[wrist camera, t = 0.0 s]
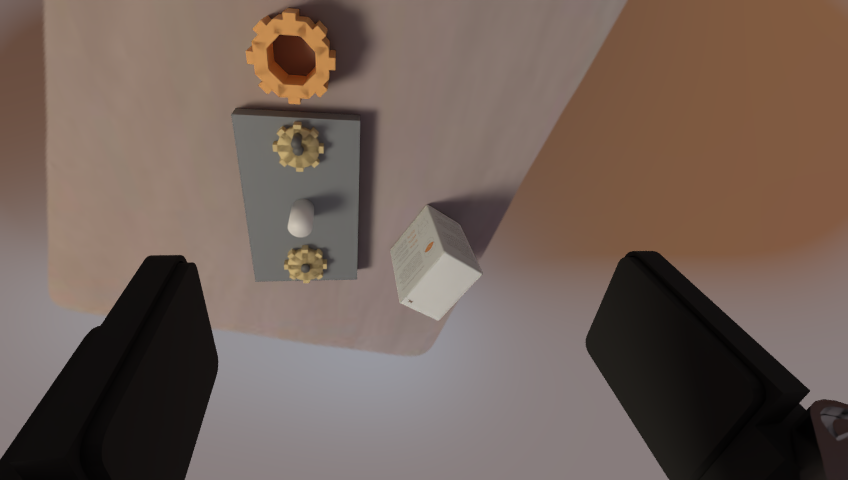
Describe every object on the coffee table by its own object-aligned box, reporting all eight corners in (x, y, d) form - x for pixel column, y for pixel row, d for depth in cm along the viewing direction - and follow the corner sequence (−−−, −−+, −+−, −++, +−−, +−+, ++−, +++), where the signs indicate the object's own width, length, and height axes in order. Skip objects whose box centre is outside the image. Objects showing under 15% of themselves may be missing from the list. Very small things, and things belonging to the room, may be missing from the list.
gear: (249, 4, 37) (240, 8, 33) (335, 12, 38) (334, 17, 35) (259, 90, 40) (251, 101, 37) (336, 95, 42) (335, 106, 38)
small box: (423, 267, 56) (438, 323, 47) (388, 249, 53) (398, 304, 44) (461, 223, 53) (485, 274, 44) (427, 202, 50) (445, 251, 42)
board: (235, 108, 41) (221, 127, 36) (359, 114, 43) (361, 134, 38) (258, 271, 52) (249, 304, 47) (356, 269, 54) (357, 300, 49)
